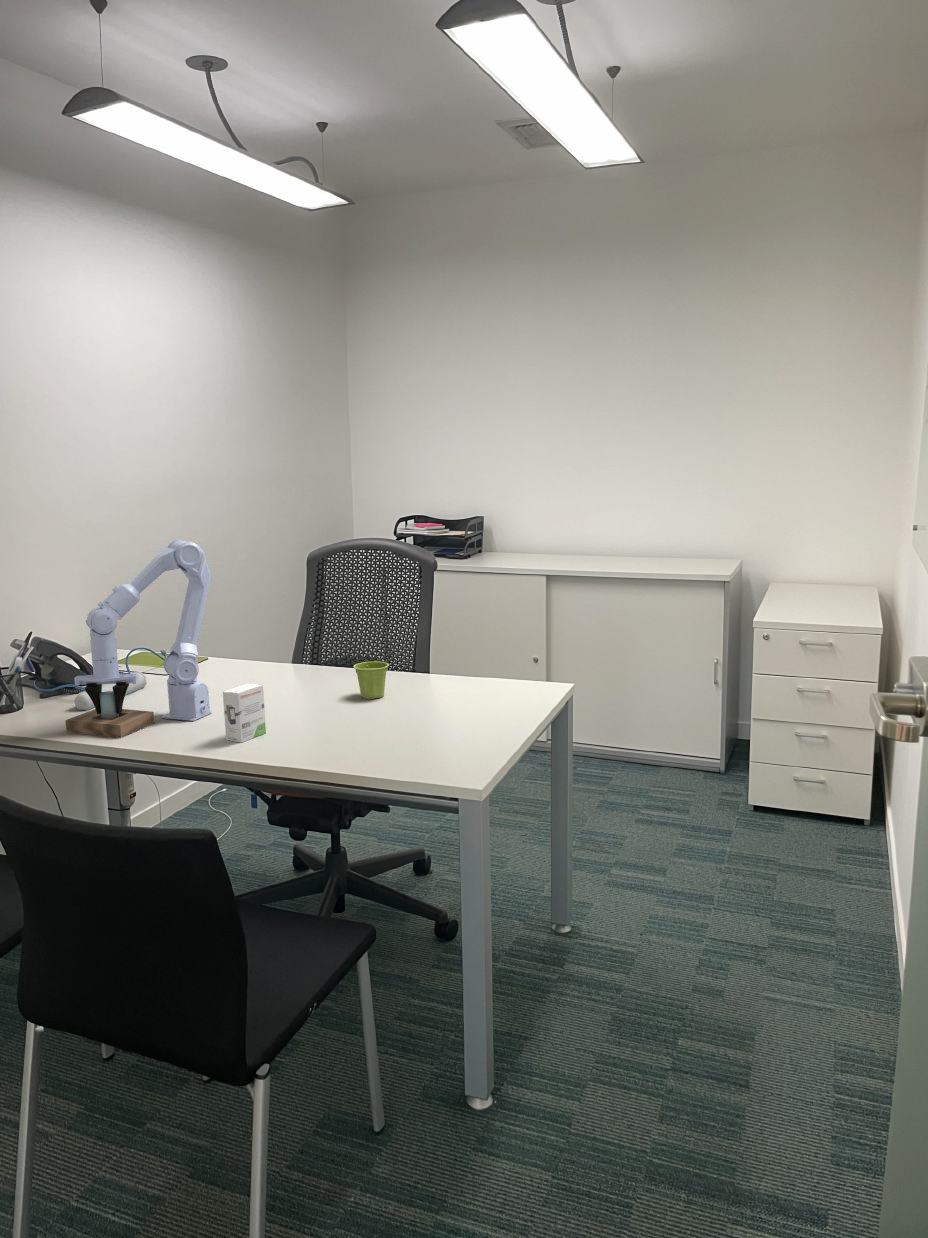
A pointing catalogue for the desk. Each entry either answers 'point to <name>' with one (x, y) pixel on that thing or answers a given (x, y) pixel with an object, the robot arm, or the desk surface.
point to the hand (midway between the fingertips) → (109, 713)
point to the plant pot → (371, 678)
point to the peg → (108, 705)
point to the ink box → (244, 712)
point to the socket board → (110, 723)
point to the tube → (85, 701)
